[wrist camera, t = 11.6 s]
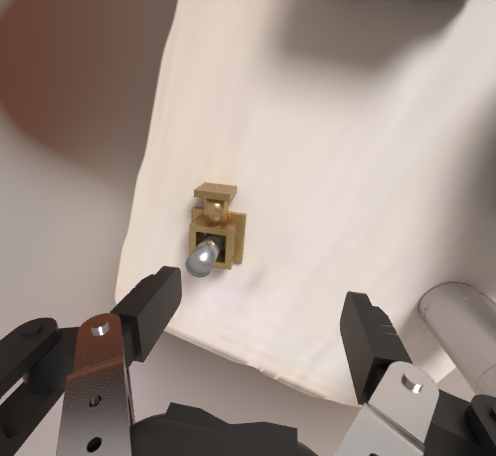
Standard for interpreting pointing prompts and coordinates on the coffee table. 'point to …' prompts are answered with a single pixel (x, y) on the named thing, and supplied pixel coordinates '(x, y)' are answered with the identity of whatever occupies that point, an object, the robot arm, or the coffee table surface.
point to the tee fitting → (218, 223)
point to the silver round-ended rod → (205, 255)
